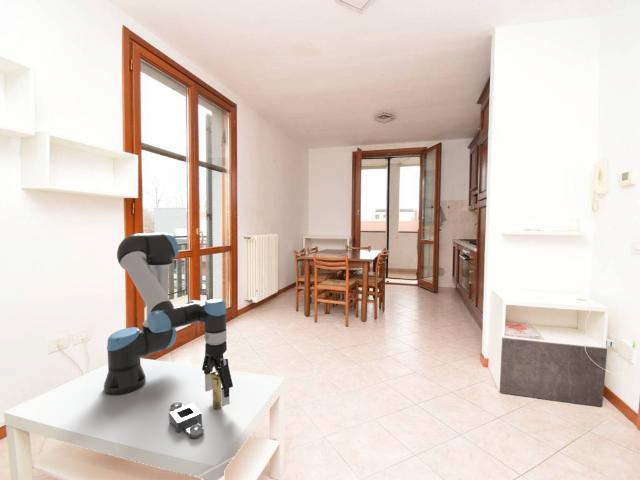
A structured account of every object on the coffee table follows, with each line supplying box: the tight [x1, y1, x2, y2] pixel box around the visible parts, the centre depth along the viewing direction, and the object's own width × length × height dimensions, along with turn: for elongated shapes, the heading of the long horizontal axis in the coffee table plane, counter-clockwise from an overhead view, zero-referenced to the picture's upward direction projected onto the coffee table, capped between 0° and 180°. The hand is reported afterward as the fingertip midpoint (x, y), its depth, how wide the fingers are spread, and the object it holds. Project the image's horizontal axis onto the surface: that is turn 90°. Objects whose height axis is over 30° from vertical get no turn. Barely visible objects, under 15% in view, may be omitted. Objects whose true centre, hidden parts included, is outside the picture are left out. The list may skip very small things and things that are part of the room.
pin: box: [210, 370, 222, 411], centre depth 120 cm, size 4×4×13 cm
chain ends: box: [168, 401, 205, 440], centre depth 111 cm, size 22×8×4 cm, turn 43°
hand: (216, 397), depth 120 cm, fingers open, 13 cm apart
